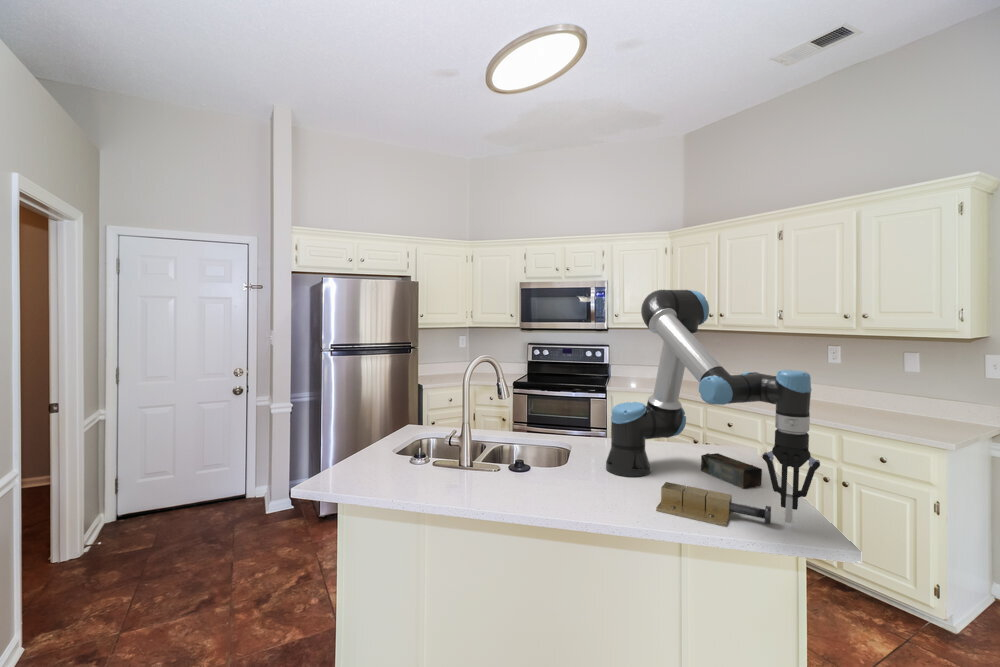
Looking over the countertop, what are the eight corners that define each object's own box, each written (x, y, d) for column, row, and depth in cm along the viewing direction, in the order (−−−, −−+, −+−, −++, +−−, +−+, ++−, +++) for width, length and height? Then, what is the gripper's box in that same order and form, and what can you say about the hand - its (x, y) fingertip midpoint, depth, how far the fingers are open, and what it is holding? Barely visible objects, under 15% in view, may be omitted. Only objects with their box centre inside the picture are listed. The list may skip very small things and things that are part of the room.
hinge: (656, 510, 136) (656, 492, 136) (669, 493, 149) (670, 477, 149) (725, 526, 127) (726, 507, 126) (733, 506, 139) (734, 489, 139)
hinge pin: (692, 509, 136) (692, 494, 136) (695, 504, 140) (695, 489, 140) (769, 526, 126) (770, 510, 126) (770, 520, 130) (771, 504, 129)
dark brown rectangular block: (717, 468, 173) (718, 450, 173) (763, 487, 155) (763, 467, 155) (699, 471, 170) (700, 452, 170) (744, 490, 152) (745, 470, 152)
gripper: (761, 430, 125) (759, 519, 126) (822, 437, 117) (818, 532, 119) (764, 424, 131) (761, 509, 132) (821, 431, 124) (818, 520, 125)
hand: (788, 520), depth 125 cm, fingers closed
